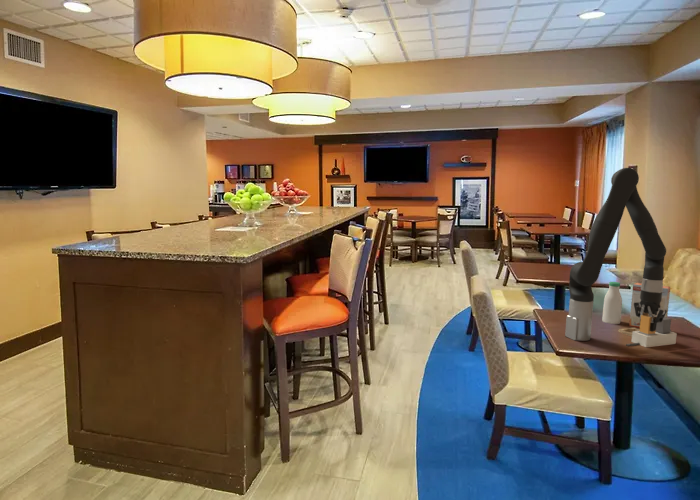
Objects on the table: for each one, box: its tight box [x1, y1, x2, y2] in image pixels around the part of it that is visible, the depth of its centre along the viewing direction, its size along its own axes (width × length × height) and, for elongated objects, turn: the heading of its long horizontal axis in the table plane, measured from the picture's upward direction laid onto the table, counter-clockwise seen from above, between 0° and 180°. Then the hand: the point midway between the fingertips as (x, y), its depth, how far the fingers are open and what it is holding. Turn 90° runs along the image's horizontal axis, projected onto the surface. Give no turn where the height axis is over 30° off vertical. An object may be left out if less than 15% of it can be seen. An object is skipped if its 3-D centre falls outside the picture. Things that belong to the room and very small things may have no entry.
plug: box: [639, 314, 656, 336], centre depth 197 cm, size 4×4×10 cm
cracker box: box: [628, 282, 671, 329], centre depth 218 cm, size 14×6×21 cm, turn 47°
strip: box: [625, 317, 677, 348], centre depth 197 cm, size 22×7×11 cm, turn 106°
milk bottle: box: [601, 281, 623, 325], centre depth 227 cm, size 8×8×20 cm
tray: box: [618, 327, 640, 338], centre depth 210 cm, size 9×9×2 cm
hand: (647, 329), depth 197 cm, fingers closed on plug, 4 cm apart
